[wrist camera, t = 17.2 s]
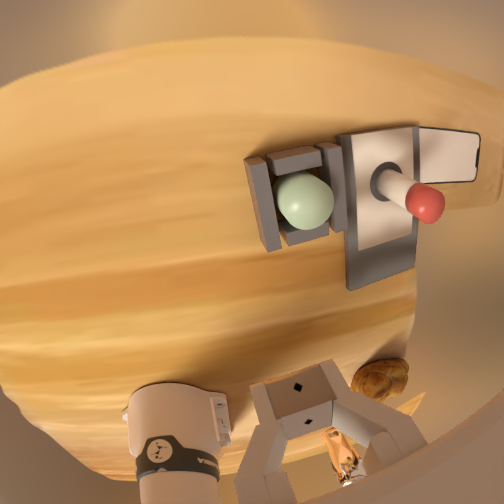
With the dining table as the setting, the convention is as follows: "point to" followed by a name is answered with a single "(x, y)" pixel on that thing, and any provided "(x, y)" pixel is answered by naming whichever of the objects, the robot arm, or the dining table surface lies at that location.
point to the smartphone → (448, 155)
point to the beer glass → (343, 458)
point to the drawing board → (378, 204)
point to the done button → (303, 199)
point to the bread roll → (381, 379)
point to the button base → (287, 162)
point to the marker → (411, 195)
